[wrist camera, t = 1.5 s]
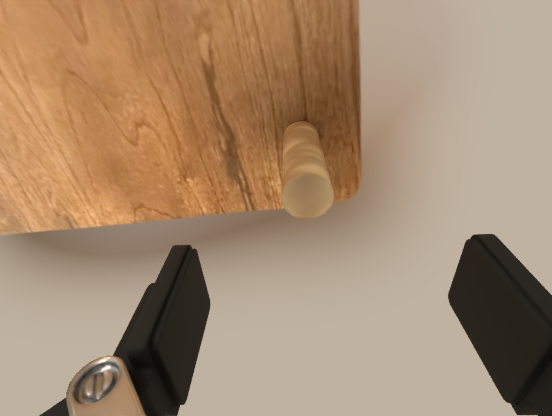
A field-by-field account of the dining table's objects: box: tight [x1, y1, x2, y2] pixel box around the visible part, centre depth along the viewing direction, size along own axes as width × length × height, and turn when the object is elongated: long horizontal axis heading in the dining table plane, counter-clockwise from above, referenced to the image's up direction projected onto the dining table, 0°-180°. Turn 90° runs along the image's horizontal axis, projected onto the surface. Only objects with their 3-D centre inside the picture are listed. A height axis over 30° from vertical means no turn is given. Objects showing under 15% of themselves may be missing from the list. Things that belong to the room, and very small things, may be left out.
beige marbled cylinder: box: [282, 121, 334, 219], centre depth 26 cm, size 4×4×12 cm
